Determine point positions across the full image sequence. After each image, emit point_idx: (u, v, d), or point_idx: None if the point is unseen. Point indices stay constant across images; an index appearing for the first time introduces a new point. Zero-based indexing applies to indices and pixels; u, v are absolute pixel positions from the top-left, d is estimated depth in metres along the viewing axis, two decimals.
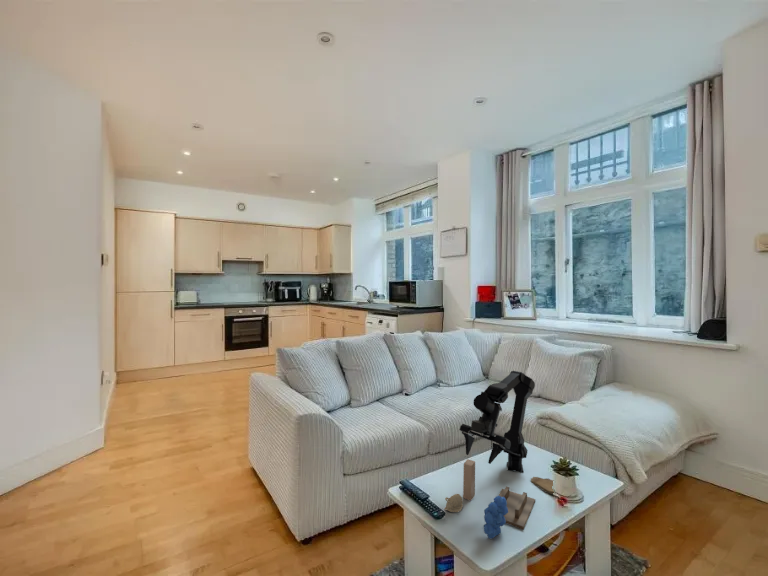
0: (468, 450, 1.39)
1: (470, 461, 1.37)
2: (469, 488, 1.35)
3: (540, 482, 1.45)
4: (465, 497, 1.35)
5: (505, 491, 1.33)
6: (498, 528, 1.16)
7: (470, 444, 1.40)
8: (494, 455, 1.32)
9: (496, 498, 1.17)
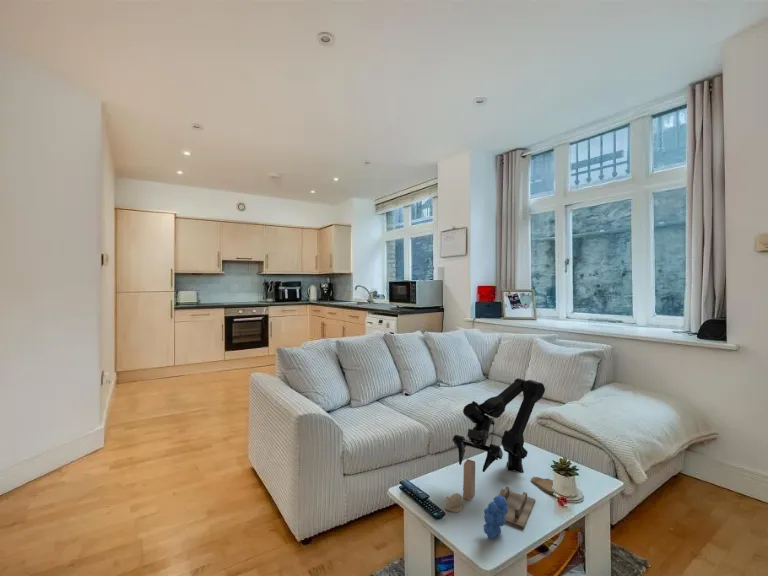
0: (461, 460, 1.42)
1: (470, 461, 1.37)
2: (469, 488, 1.35)
3: (540, 482, 1.45)
4: (465, 497, 1.35)
5: (505, 491, 1.33)
6: (498, 528, 1.16)
7: (462, 454, 1.44)
8: (487, 463, 1.37)
9: (496, 498, 1.17)
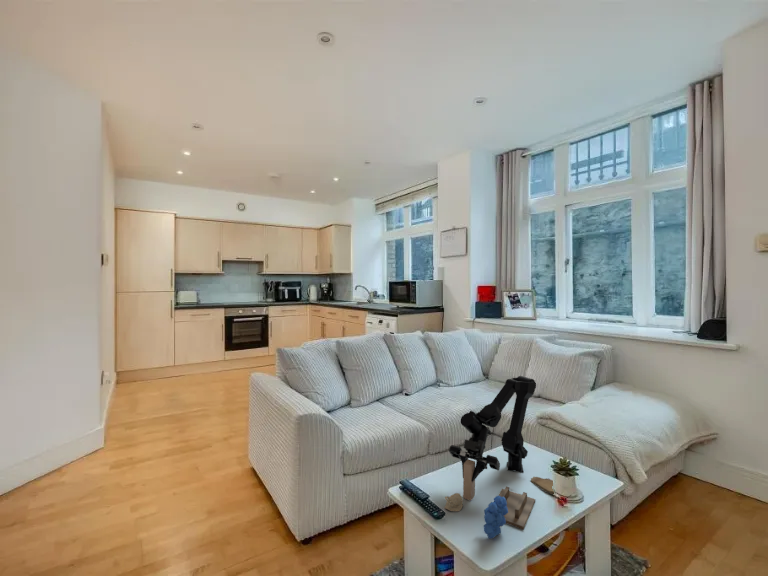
0: None
1: (470, 461, 1.37)
2: (469, 488, 1.35)
3: (540, 482, 1.45)
4: (465, 497, 1.35)
5: (505, 491, 1.33)
6: (498, 528, 1.16)
7: None
8: (477, 472, 1.35)
9: (496, 498, 1.17)
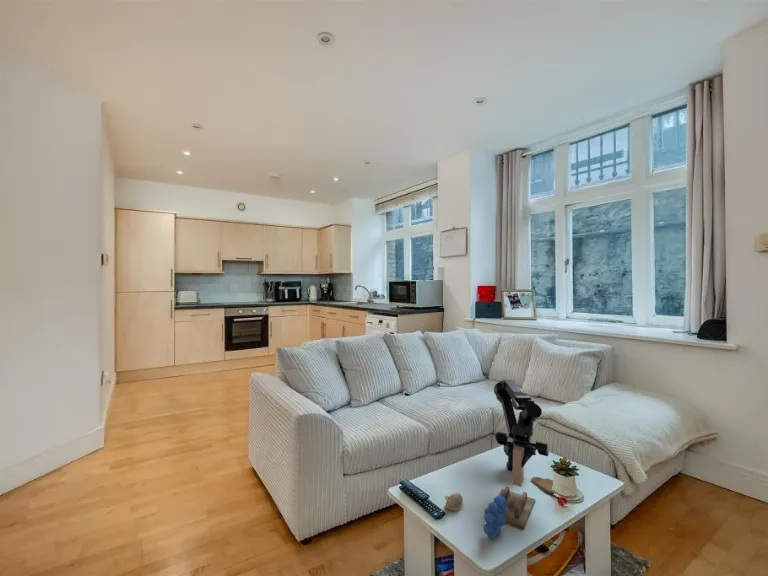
0: None
1: (519, 447, 1.36)
2: (519, 474, 1.34)
3: (540, 482, 1.45)
4: (514, 483, 1.35)
5: (505, 491, 1.33)
6: (498, 528, 1.16)
7: None
8: (526, 458, 1.35)
9: (496, 498, 1.17)
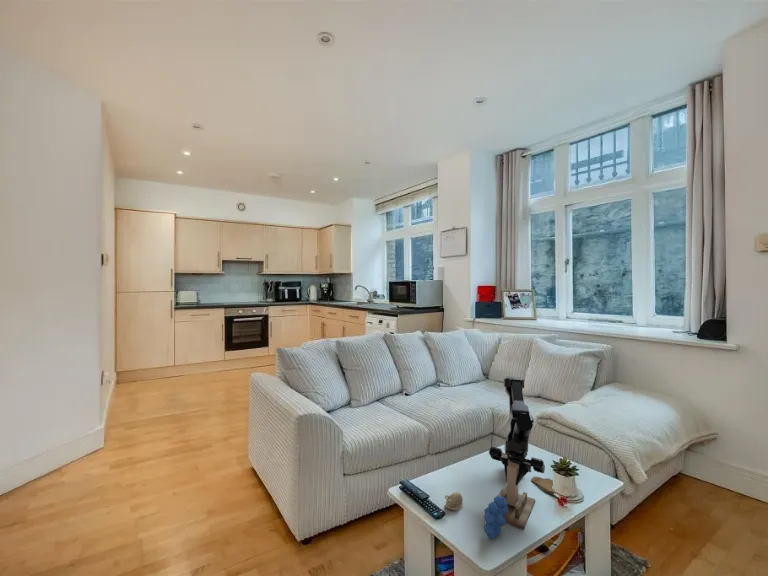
0: None
1: (513, 464, 1.30)
2: (513, 493, 1.28)
3: (540, 482, 1.45)
4: (509, 502, 1.29)
5: (505, 491, 1.33)
6: (498, 528, 1.16)
7: None
8: (521, 475, 1.29)
9: (496, 498, 1.17)
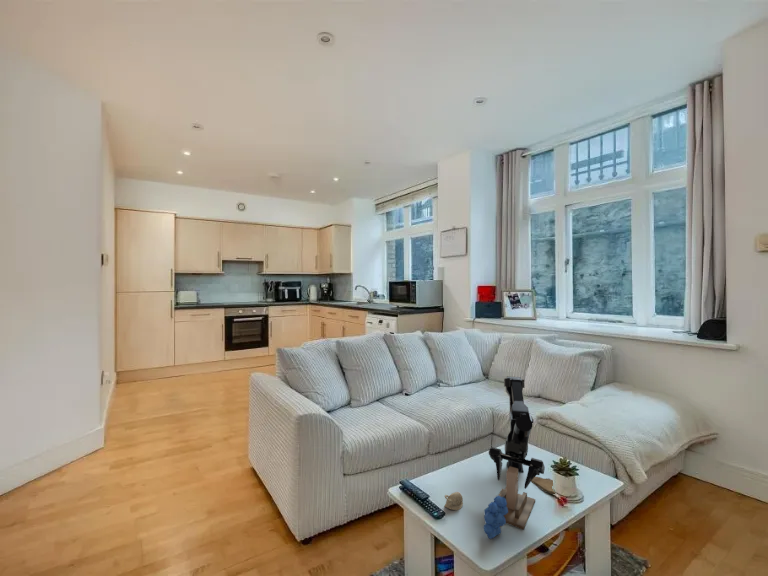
0: (499, 475, 1.32)
1: (513, 468, 1.30)
2: (512, 497, 1.28)
3: (540, 482, 1.45)
4: (508, 506, 1.29)
5: (505, 491, 1.33)
6: (498, 528, 1.16)
7: (500, 469, 1.34)
8: (529, 479, 1.27)
9: (496, 498, 1.17)
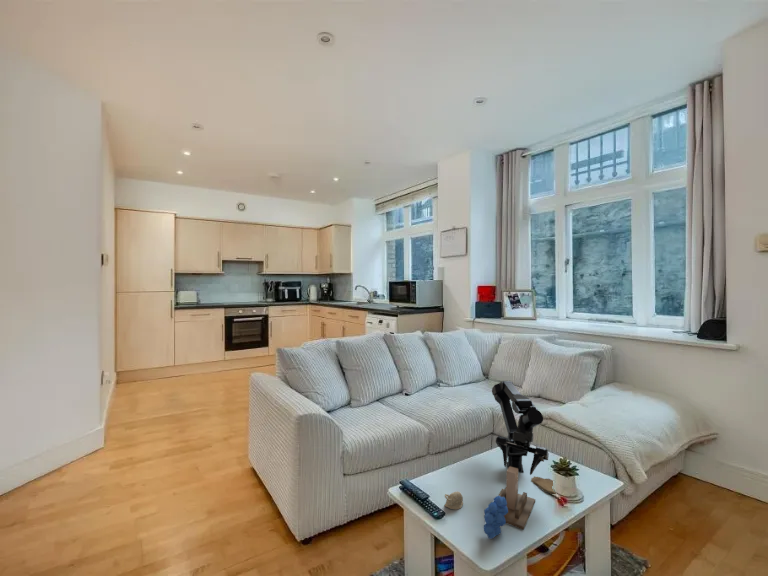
0: (506, 462, 1.40)
1: (513, 468, 1.30)
2: (512, 497, 1.28)
3: (540, 482, 1.45)
4: (508, 506, 1.29)
5: (505, 491, 1.33)
6: (498, 528, 1.16)
7: (506, 456, 1.42)
8: (534, 465, 1.35)
9: (496, 498, 1.17)
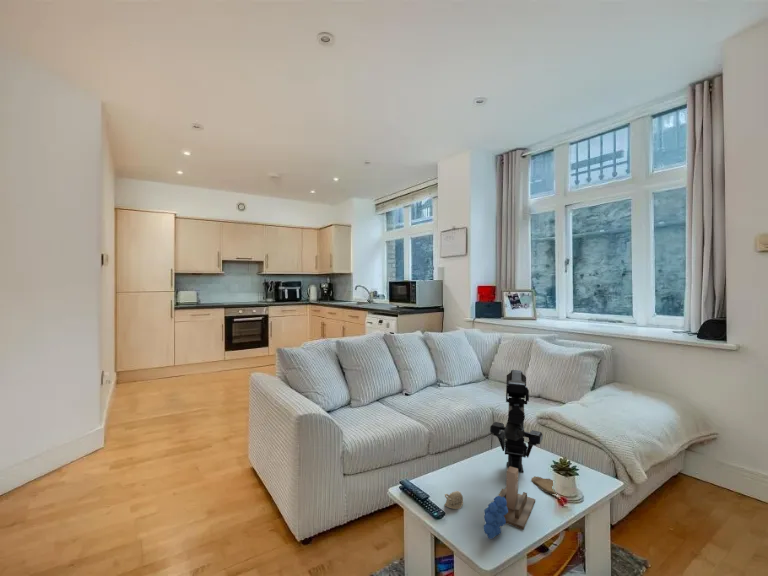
0: (503, 446, 1.46)
1: (513, 468, 1.30)
2: (512, 497, 1.28)
3: (540, 482, 1.45)
4: (508, 506, 1.29)
5: (505, 491, 1.33)
6: (498, 528, 1.16)
7: (503, 440, 1.46)
8: (530, 450, 1.40)
9: (496, 498, 1.17)
